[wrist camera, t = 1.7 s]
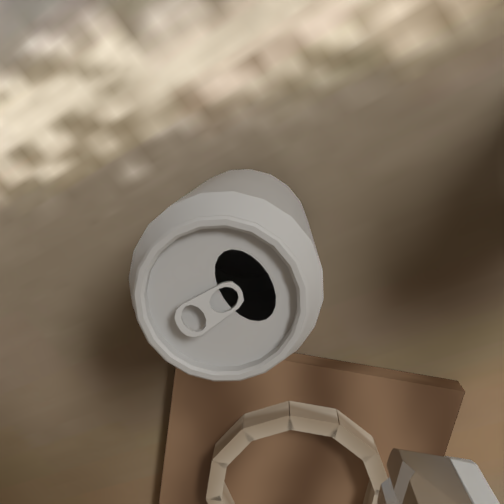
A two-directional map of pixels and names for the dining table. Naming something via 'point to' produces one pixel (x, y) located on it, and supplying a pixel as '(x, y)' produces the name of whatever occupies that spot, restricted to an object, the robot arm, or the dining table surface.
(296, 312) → the can
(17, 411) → the dining table surface
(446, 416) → the seat board
